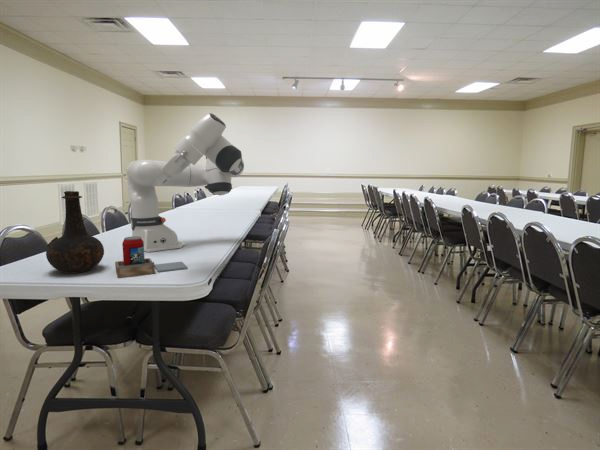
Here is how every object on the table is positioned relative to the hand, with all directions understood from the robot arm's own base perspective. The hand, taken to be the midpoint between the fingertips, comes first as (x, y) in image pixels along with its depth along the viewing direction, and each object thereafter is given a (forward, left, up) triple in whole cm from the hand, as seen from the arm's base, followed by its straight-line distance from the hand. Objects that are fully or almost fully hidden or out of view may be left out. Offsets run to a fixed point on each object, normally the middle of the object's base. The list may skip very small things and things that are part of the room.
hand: (160, 182), depth 138 cm
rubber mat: (-2, -2, -31) cm, 31 cm away
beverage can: (+10, -2, -31) cm, 32 cm away
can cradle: (+10, -2, -31) cm, 32 cm away
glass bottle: (+28, -15, -31) cm, 44 cm away
